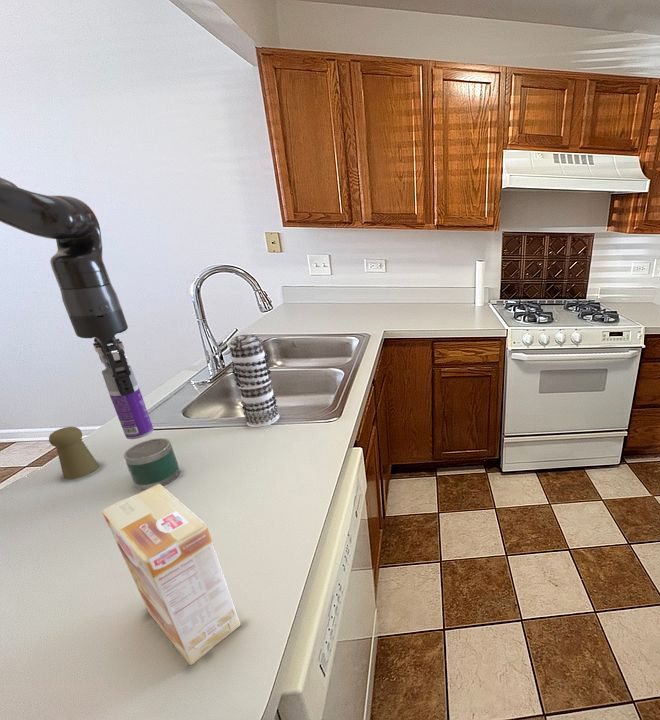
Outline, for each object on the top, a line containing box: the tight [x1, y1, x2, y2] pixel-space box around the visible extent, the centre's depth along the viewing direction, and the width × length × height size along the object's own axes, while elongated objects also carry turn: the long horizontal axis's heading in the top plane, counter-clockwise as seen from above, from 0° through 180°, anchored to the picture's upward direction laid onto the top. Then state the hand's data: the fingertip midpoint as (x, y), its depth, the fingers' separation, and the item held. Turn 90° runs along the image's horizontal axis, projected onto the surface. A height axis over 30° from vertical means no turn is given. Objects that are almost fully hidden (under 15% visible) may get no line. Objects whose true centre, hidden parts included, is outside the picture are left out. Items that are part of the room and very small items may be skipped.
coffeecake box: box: [100, 484, 242, 666], centre depth 56 cm, size 15×7×20 cm, turn 56°
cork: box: [48, 426, 100, 480], centre depth 90 cm, size 6×6×11 cm
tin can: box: [123, 437, 181, 491], centre depth 88 cm, size 8×8×8 cm
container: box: [101, 364, 155, 440], centre depth 82 cm, size 5×5×15 cm
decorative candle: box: [226, 333, 280, 428], centre depth 109 cm, size 9×9×25 cm
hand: (124, 389), depth 81 cm, fingers closed on container, 4 cm apart
